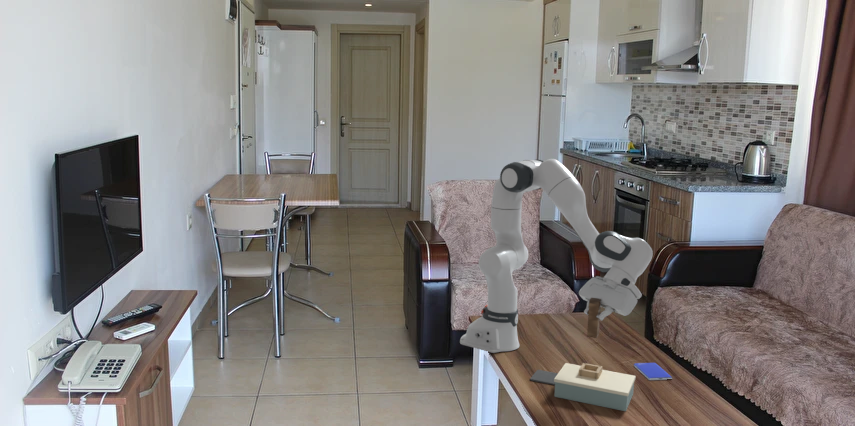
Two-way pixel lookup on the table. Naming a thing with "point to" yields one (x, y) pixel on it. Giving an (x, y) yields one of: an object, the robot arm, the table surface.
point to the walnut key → (593, 318)
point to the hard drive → (652, 371)
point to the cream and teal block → (594, 386)
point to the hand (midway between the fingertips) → (592, 316)
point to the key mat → (544, 377)
